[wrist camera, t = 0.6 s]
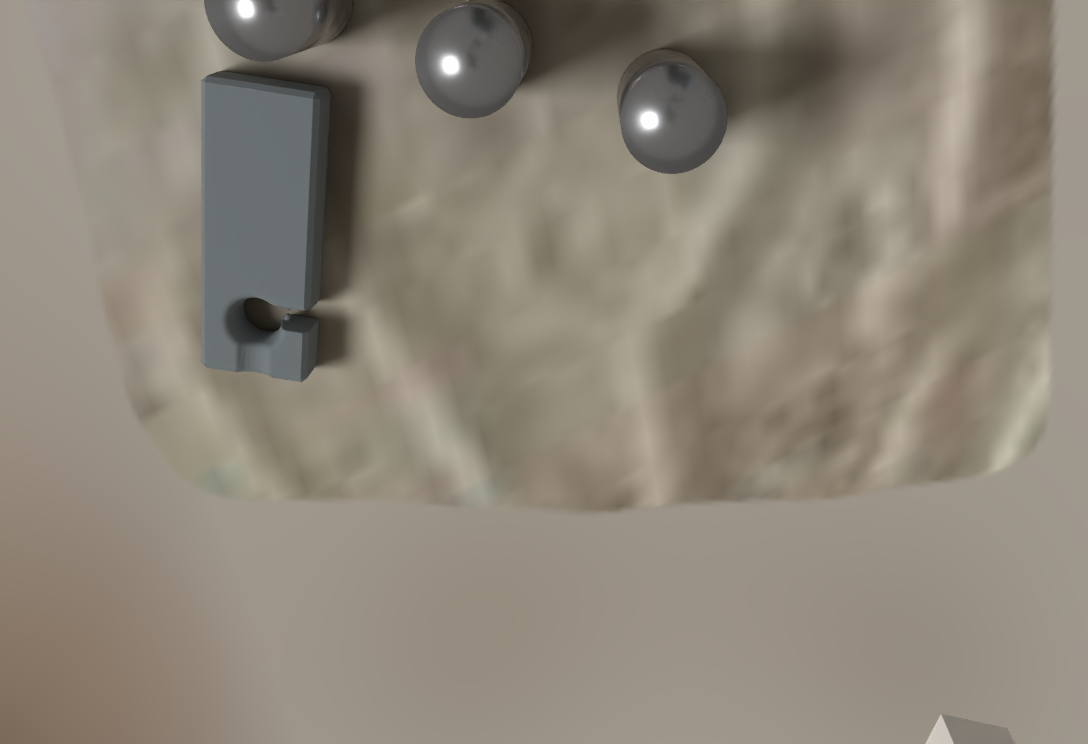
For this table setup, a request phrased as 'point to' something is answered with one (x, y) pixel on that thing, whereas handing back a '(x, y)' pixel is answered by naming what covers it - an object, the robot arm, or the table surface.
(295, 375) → the bracket
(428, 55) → the spacer field
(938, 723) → the robot arm
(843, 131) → the table surface
